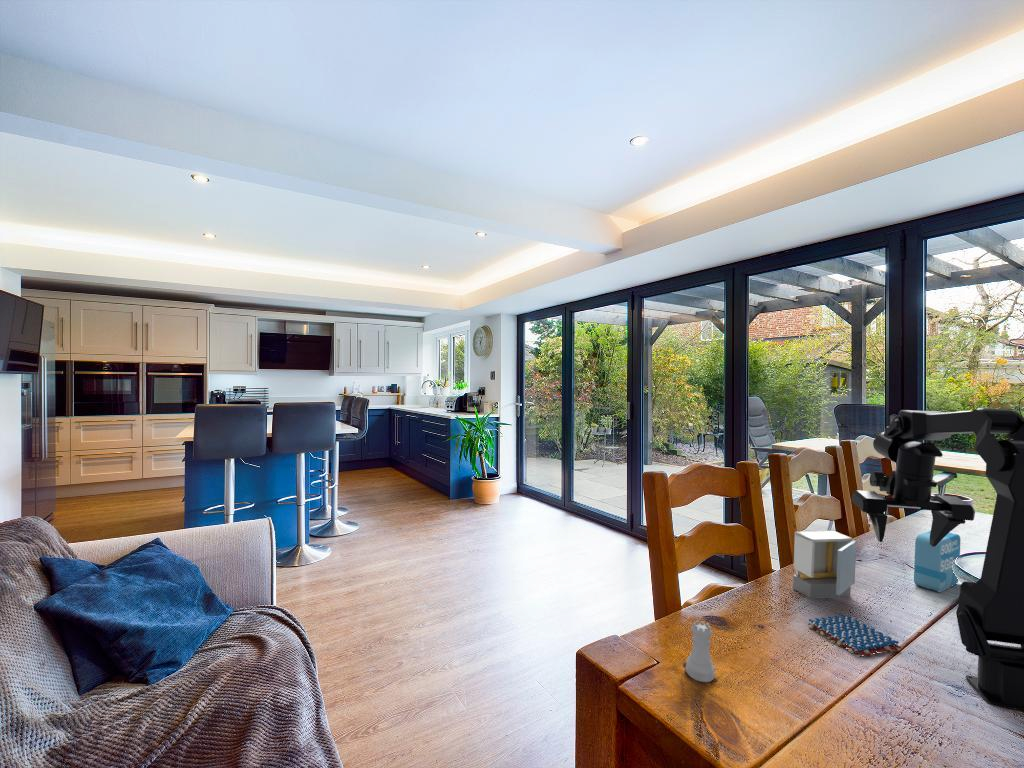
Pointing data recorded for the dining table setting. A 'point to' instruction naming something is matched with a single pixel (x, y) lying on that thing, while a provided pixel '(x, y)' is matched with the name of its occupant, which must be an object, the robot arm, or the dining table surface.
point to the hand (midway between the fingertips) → (905, 543)
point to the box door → (846, 567)
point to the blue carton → (935, 561)
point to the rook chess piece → (700, 654)
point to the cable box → (818, 563)
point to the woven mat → (854, 635)
